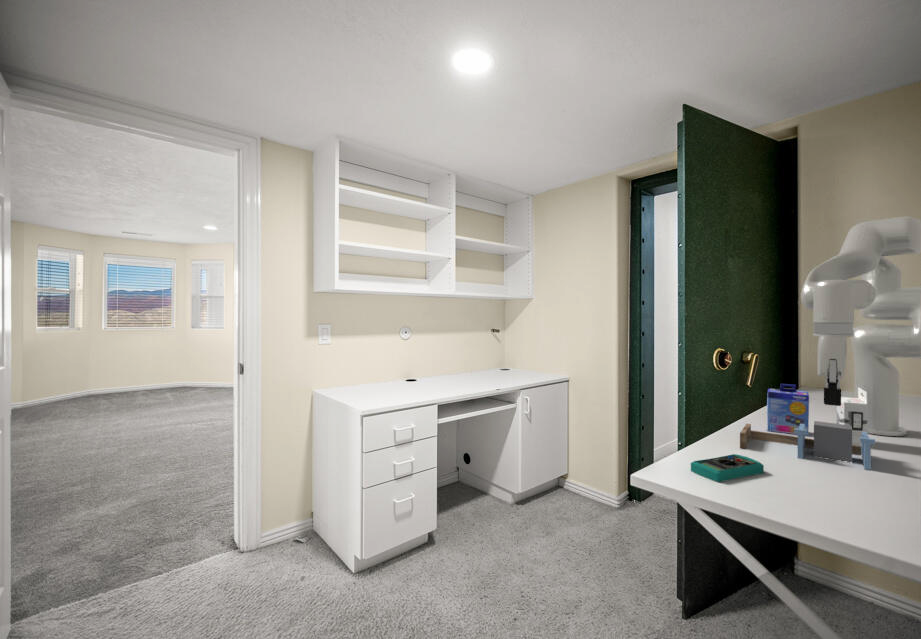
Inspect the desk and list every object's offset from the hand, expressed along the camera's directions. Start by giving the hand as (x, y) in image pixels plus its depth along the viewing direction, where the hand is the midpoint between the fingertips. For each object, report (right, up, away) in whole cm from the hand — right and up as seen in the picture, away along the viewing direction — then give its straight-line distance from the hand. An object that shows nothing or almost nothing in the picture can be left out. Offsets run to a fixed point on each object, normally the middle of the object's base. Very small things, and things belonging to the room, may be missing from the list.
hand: (832, 404), depth 105 cm
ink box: (+15, -13, +11) cm, 23 cm away
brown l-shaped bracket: (-4, -13, +4) cm, 14 cm away
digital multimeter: (-31, -14, -8) cm, 35 cm away
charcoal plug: (0, -13, 0) cm, 13 cm away
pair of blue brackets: (0, -13, 0) cm, 13 cm away
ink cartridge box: (+6, -13, +22) cm, 26 cm away
